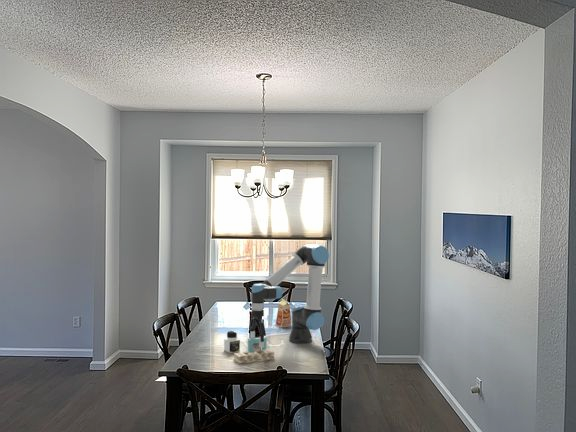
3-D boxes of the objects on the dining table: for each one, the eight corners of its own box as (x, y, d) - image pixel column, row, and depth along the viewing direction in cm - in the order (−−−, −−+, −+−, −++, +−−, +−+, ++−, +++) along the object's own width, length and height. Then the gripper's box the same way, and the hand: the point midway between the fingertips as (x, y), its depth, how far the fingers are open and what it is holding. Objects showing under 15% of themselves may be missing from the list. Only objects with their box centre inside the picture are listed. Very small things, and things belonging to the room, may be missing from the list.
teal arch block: (264, 350, 335) (264, 336, 335) (266, 351, 332) (266, 338, 332) (247, 352, 330) (248, 338, 330) (249, 353, 327) (249, 339, 327)
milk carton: (275, 325, 407) (275, 298, 407) (285, 323, 413) (285, 297, 412) (282, 327, 400) (282, 300, 400) (292, 326, 405) (292, 299, 405)
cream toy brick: (268, 355, 324) (268, 349, 324) (274, 359, 316) (274, 352, 316) (233, 360, 314) (234, 353, 314) (239, 363, 306) (239, 356, 306)
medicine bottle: (229, 353, 328) (229, 333, 328) (223, 350, 334) (224, 331, 334) (239, 351, 333) (240, 331, 332) (233, 348, 338) (234, 329, 338)
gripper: (244, 306, 340) (243, 340, 340) (260, 313, 318) (259, 349, 318) (255, 305, 344) (254, 339, 344) (272, 312, 321) (271, 348, 322)
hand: (256, 344), depth 331 cm, fingers open, 13 cm apart
